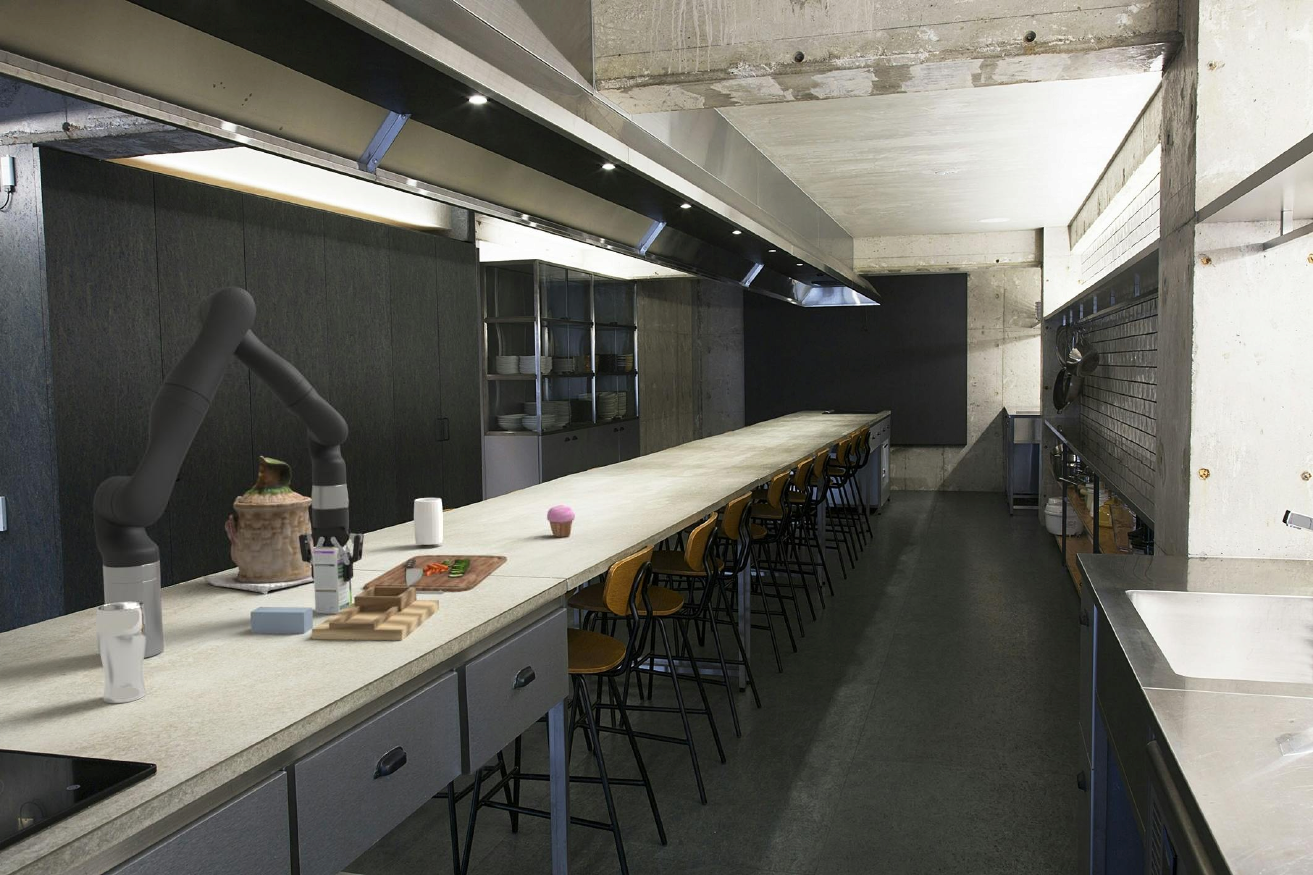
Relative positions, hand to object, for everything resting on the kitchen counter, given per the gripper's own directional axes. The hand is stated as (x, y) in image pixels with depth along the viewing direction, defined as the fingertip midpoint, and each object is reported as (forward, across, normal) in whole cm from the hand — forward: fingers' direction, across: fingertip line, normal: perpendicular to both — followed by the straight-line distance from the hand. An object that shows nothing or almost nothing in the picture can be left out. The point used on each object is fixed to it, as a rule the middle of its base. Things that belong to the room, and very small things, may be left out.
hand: (332, 580), depth 207 cm
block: (+7, -4, -16) cm, 18 cm away
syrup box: (+7, 0, 0) cm, 7 cm away
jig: (+7, +14, -10) cm, 18 cm away
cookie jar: (+7, -28, +30) cm, 41 cm away
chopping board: (+8, +12, +39) cm, 41 cm away
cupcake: (+7, +34, +95) cm, 101 cm away
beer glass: (+7, -11, -56) cm, 58 cm away
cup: (+7, -3, +77) cm, 77 cm away
